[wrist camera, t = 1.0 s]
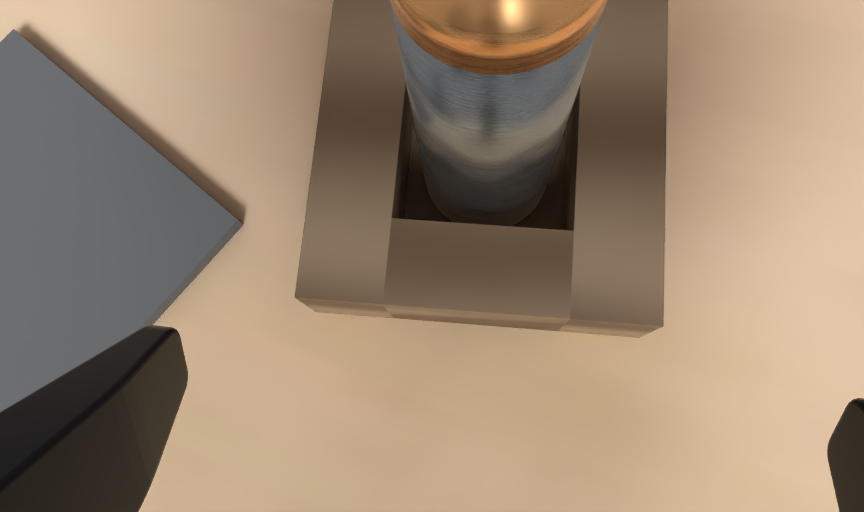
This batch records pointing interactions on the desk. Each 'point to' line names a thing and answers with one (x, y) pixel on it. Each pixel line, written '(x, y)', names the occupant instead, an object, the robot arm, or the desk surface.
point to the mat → (84, 225)
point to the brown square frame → (491, 244)
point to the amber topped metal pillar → (492, 96)
